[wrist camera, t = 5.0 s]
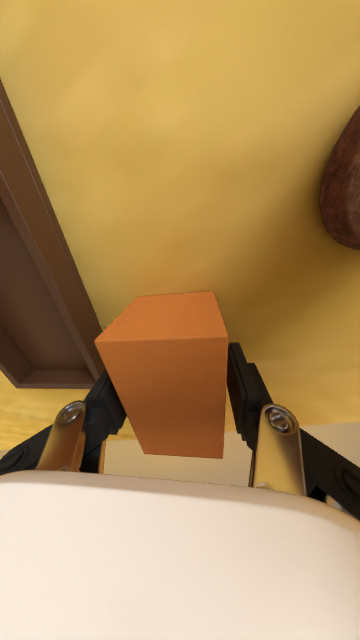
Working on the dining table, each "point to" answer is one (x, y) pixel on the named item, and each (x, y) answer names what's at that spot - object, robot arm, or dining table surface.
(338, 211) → the can
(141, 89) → the dining table surface
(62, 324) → the frame
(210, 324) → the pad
